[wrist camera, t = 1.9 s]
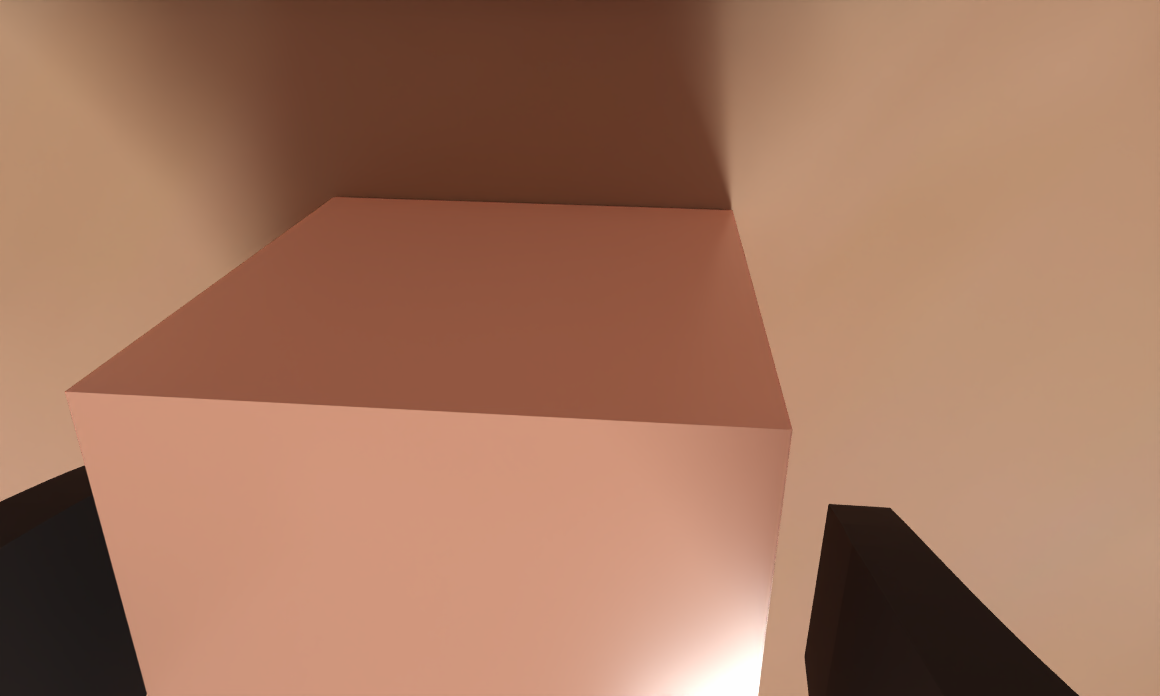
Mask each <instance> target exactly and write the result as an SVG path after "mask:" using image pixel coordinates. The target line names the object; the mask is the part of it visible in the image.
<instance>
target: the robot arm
mask: <svg viewBox="0 0 1160 696" xmlns="http://www.w3.org/2000/svg"><path fill="white" fill-rule="evenodd" d="M805 665H806V674H807V684H808V693H809V696H1079V695H1078V694H1077V693H1076V692H1074V691H1073V690H1072V689H1071V688H1070V687H1069V686H1068V685H1067V684H1066V683H1065V682H1064V681H1063V680H1062V679H1060V678H1059V677H1058V676H1057V675H1056V674H1055V673H1054V672H1053V671H1052V670H1051V669H1050V668H1049V667H1048V666H1047V665H1045V664H1044V663H1043V662H1042V661H1041V660H1040V659H1039V658H1038V657H1037V656H1036V655H1035V654H1034V653H1033V652H1032V651H1031V650H1030V649H1029V648H1028V647H1027V646H1026V645H1024V644H1023V643H1022V642H1021V641H1020V640H1019V639H1018V638H1017V637H1016V636H1015V635H1014V634H1013V633H1012V632H1011V631H1010V630H1009V629H1008V628H1007V627H1006V626H1005V625H1004V624H1003V623H1002V622H1001V621H1000V620H999V619H998V618H997V617H996V616H995V615H994V614H993V613H992V612H991V611H990V610H989V609H988V608H987V607H986V606H985V605H984V604H983V603H982V602H981V601H980V600H979V599H978V598H977V597H976V596H975V595H974V594H973V593H972V592H971V591H970V590H969V589H968V588H967V587H966V586H965V585H964V584H963V583H962V582H961V580H960V579H959V578H958V577H957V576H956V575H955V574H954V573H953V572H952V571H951V570H950V569H949V568H948V567H947V566H946V565H945V564H944V563H943V562H942V561H941V560H940V559H939V558H938V557H937V556H936V555H935V554H934V552H933V551H932V550H931V549H930V548H929V547H928V546H927V545H926V544H925V543H924V542H923V541H922V540H921V539H920V538H919V537H918V536H917V535H916V534H915V533H914V532H913V531H912V530H911V528H910V527H909V526H908V525H907V524H906V523H905V522H904V521H903V520H902V519H901V518H900V517H899V516H898V515H897V514H896V513H895V512H894V511H893V510H892V509H891V508H884V507H868V506H852V505H836V504H829V505H828V511H827V518H826V524H825V530H824V537H823V543H822V549H821V556H820V562H819V568H818V575H817V581H816V587H815V594H814V600H813V606H812V613H811V619H810V625H809V632H808V638H807V644H806V651H805ZM146 695H147V692H146V688H145V684H144V681H143V677H142V673H141V670H140V666H139V662H138V659H137V655H136V651H135V648H134V644H133V640H132V637H131V633H130V629H129V625H128V622H127V618H126V614H125V611H124V607H123V603H122V600H121V596H120V592H119V589H118V585H117V581H116V578H115V574H114V570H113V567H112V563H111V559H110V556H109V552H108V548H107V545H106V541H105V537H104V534H103V530H102V526H101V523H100V519H99V515H98V512H97V508H96V504H95V501H94V497H93V493H92V490H91V486H90V482H89V478H88V475H87V471H86V467H85V466H82V467H79V468H77V469H74V470H72V471H69V472H67V473H64V474H62V475H60V476H57V477H55V478H52V479H50V480H48V481H45V482H43V483H41V484H39V485H36V486H34V487H32V488H30V489H27V490H25V491H23V492H21V493H19V494H16V495H14V496H12V497H10V498H8V499H5V500H3V501H1V502H0V696H146Z"/></svg>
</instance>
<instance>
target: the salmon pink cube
mask: <svg viewBox="0 0 1160 696" xmlns="http://www.w3.org/2000/svg"><path fill="white" fill-rule="evenodd" d="M65 394H66V398H67V401H68V405H69V409H70V412H71V416H72V420H73V423H74V427H75V431H76V434H77V438H78V442H79V445H80V449H81V453H82V456H83V460H84V464H85V467H86V471H87V475H88V478H89V482H90V486H91V490H92V493H93V497H94V501H95V504H96V508H97V512H98V515H99V519H100V523H101V526H102V530H103V534H104V537H105V541H106V545H107V548H108V552H109V556H110V559H111V563H112V567H113V570H114V574H115V578H116V581H117V585H118V589H119V592H120V596H121V600H122V603H123V607H124V611H125V614H126V618H127V622H128V625H129V629H130V633H131V637H132V640H133V644H134V648H135V651H136V655H137V659H138V662H139V666H140V670H141V673H142V677H143V681H144V684H145V688H146V692H147V695H148V696H758V689H759V681H760V674H761V666H762V658H763V651H764V643H765V635H766V628H767V620H768V612H769V605H770V597H771V590H772V582H773V574H774V567H775V559H776V551H777V544H778V536H779V528H780V521H781V513H782V505H783V498H784V490H785V482H786V475H787V467H788V459H789V452H790V444H791V436H792V427H791V423H790V419H789V416H788V412H787V408H786V405H785V401H784V397H783V394H782V390H781V386H780V383H779V379H778V375H777V372H776V368H775V364H774V361H773V357H772V353H771V350H770V346H769V342H768V339H767V335H766V331H765V328H764V324H763V320H762V317H761V313H760V309H759V306H758V302H757V298H756V295H755V291H754V287H753V284H752V280H751V276H750V273H749V269H748V265H747V262H746V258H745V254H744V251H743V247H742V243H741V240H740V236H739V232H738V229H737V225H736V221H735V218H734V214H733V210H713V209H682V208H652V207H622V206H592V205H562V204H532V203H502V202H472V201H442V200H412V199H382V198H352V197H333V198H332V199H330V200H329V201H327V202H326V203H325V204H323V205H322V206H321V207H319V208H318V209H316V210H315V211H314V212H312V213H311V214H309V215H308V216H307V217H305V218H304V219H303V220H301V221H300V222H298V223H297V224H296V225H294V226H293V227H292V228H290V229H289V230H287V231H286V232H285V233H283V234H282V235H280V236H279V237H278V238H276V239H275V240H274V241H272V242H271V243H269V244H268V245H267V246H265V247H264V248H263V249H261V250H260V251H258V252H257V253H256V254H254V255H253V256H252V257H250V258H249V259H247V260H246V261H245V262H243V263H242V264H240V265H239V266H238V267H236V268H235V269H234V270H232V271H231V272H229V273H228V274H227V275H225V276H224V277H223V278H221V279H220V280H218V281H217V282H216V283H214V284H213V285H211V286H210V287H209V288H207V289H206V290H205V291H203V292H202V293H200V294H199V295H198V296H196V297H195V298H194V299H192V300H191V301H189V302H188V303H187V304H185V305H184V306H182V307H181V308H180V309H178V310H177V311H176V312H174V313H173V314H171V315H170V316H169V317H167V318H166V319H165V320H163V321H162V322H160V323H159V324H158V325H156V326H155V327H154V328H152V329H151V330H149V331H148V332H147V333H145V334H144V335H142V336H141V337H140V338H138V339H137V340H136V341H134V342H133V343H131V344H130V345H129V346H127V347H126V348H125V349H123V350H122V351H120V352H119V353H118V354H116V355H115V356H113V357H112V358H111V359H109V360H108V361H107V362H105V363H104V364H102V365H101V366H100V367H98V368H97V369H96V370H94V371H93V372H91V373H90V374H89V375H87V376H86V377H84V378H83V379H82V380H80V381H79V382H78V383H76V384H75V385H73V386H72V387H71V388H69V389H68V390H67V391H65Z"/></svg>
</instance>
